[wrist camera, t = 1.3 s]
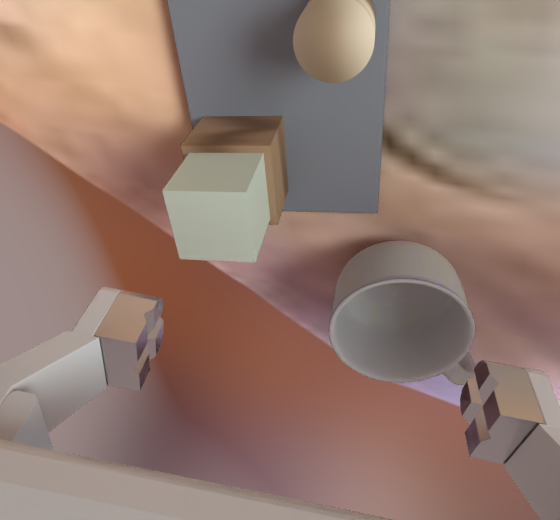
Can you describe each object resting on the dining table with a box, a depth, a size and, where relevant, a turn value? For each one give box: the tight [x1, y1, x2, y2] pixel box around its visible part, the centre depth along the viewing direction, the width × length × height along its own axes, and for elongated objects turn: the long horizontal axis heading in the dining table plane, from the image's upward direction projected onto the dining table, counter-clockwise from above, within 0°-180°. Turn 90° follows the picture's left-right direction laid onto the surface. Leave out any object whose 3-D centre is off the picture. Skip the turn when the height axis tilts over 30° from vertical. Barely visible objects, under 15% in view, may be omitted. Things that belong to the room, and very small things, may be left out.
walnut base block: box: [181, 116, 289, 225], centre depth 34 cm, size 6×6×5 cm
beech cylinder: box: [293, 0, 376, 83], centre depth 28 cm, size 4×4×5 cm
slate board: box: [167, 0, 390, 213], centre depth 34 cm, size 14×18×1 cm
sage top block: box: [162, 153, 270, 263], centre depth 30 cm, size 5×5×5 cm
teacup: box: [329, 240, 475, 385], centre depth 40 cm, size 14×11×8 cm
